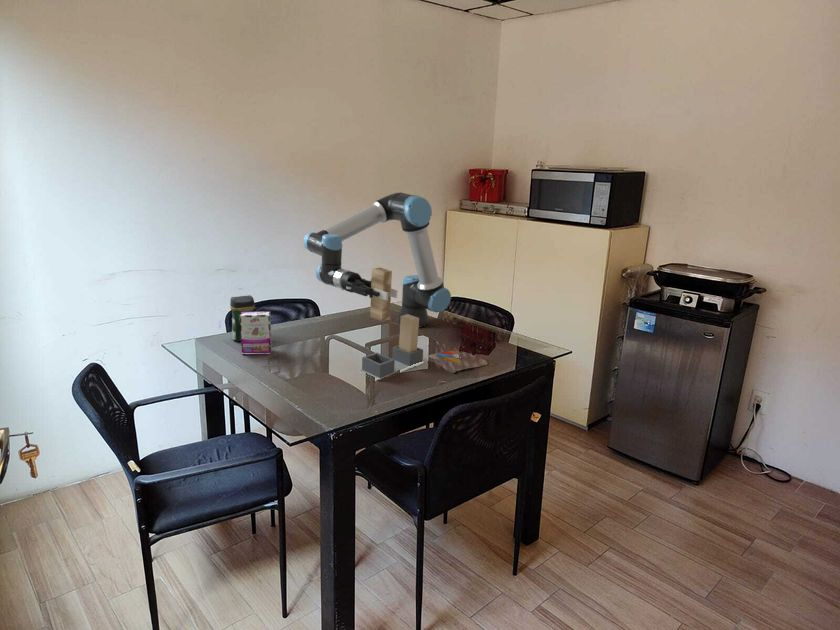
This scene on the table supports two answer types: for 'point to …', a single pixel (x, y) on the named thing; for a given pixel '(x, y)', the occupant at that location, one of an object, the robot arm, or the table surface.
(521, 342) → the table surface
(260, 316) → the candy bar box
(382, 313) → the oak slat
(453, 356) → the wooden puzzle
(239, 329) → the coffee jar
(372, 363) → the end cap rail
